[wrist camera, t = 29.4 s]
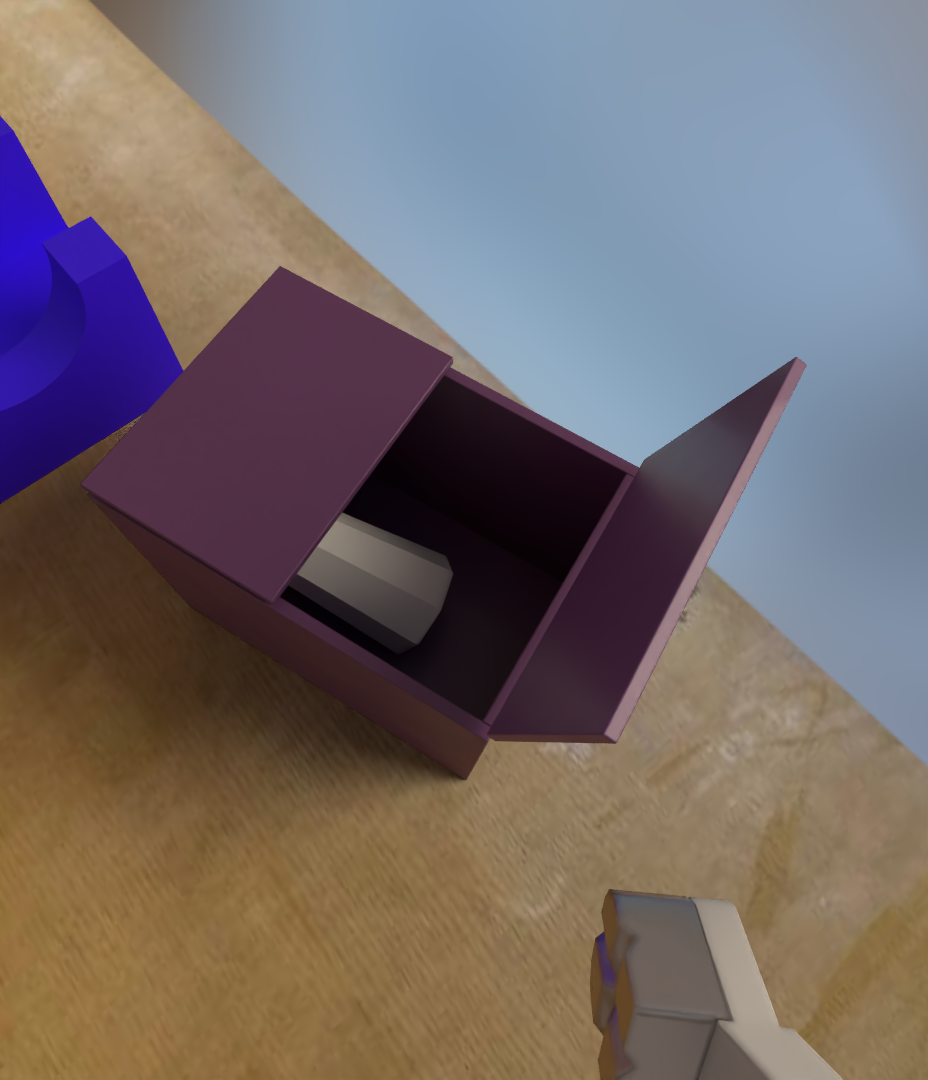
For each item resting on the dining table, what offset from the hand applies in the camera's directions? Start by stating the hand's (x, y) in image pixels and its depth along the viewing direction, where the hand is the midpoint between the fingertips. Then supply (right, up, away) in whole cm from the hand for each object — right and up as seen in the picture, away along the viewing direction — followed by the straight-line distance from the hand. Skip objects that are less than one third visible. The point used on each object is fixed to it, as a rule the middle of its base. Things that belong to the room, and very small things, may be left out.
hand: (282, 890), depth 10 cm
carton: (-2, +1, +31) cm, 31 cm away
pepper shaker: (0, +1, +28) cm, 28 cm away
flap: (+7, +4, +13) cm, 15 cm away
